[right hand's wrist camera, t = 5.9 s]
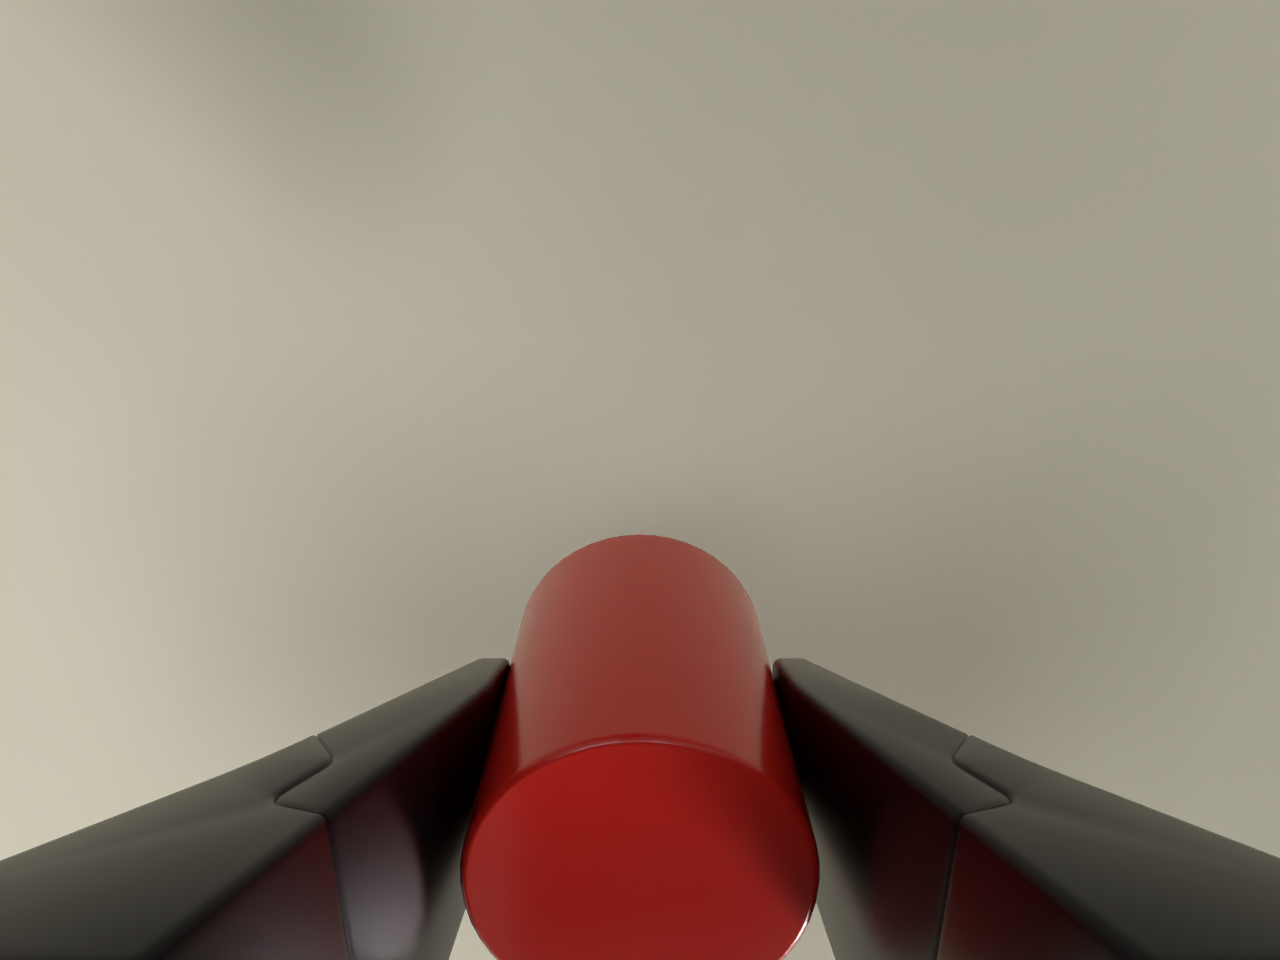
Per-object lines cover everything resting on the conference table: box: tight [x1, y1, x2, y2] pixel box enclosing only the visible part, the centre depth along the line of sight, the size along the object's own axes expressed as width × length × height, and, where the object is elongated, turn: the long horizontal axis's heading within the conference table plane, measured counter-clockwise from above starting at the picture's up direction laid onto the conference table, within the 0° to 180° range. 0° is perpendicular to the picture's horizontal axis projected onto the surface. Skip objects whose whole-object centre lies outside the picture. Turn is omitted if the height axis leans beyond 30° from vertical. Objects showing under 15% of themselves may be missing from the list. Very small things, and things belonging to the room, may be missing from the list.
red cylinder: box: [460, 535, 820, 960], centre depth 11 cm, size 4×4×5 cm
